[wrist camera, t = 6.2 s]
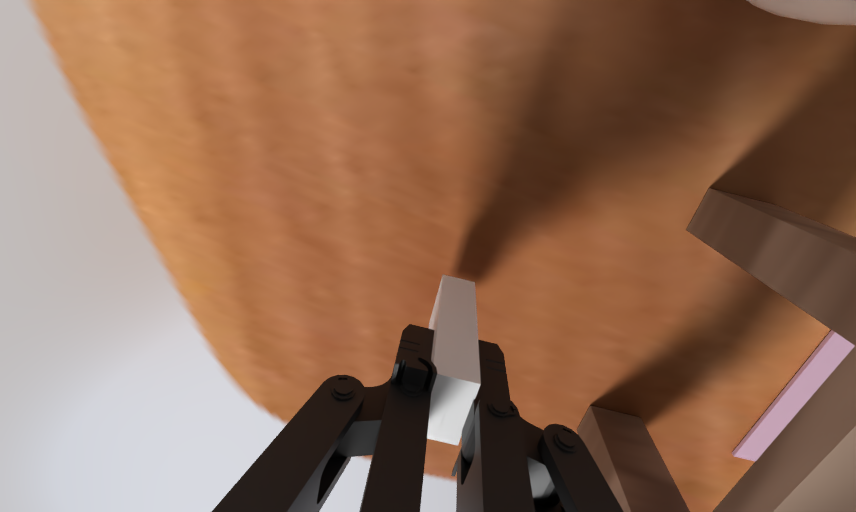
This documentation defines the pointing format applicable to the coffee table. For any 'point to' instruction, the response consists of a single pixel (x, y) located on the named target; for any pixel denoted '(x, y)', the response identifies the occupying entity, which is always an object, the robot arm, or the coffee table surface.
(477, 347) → the robot arm
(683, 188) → the coffee table surface
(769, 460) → the bridge
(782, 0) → the lidded jar
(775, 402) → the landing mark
